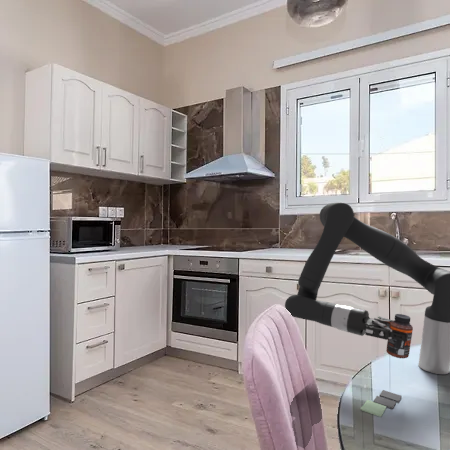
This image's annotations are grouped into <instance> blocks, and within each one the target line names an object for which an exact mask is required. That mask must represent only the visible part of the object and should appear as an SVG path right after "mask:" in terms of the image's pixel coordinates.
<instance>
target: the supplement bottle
mask: <svg viewBox="0 0 450 450" xmlns="http://www.w3.org/2000/svg"><path fill="white" fill-rule="evenodd" d="M390 329H393V330H397V331H400V332H404V333H407V334H408V340H407V341H406V342H405V341H401V340H397V339H394V338H392V339H389V338H388V340H387V342H386V353H387V354H388V356H389V355H390V356H391V357H394V358H397V359H407V358H409V356H410V350H411V343H412V337H413V331H414V330H413V325H412V324H411V317H410V316H409V315H406V314H402V313H401V314H400V313H396V314H394V320H393V321H392V322H391V323H390Z"/></svg>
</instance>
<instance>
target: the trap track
mask: <svg viewBox="0 0 450 450" xmlns="http://www.w3.org/2000/svg"><path fill="white" fill-rule="evenodd" d="M401 399H402V395H400V394H396V393H394V392H392V391H391V392H390V391H387V390H384V389H382V391H381V393H379V395H376V396H375V398H374V399H373V401H372V400H370V399H369V400H368V399H366V400H365V402H364V403H363V405H362V406H361V407H360V411H362V412H365V413H367V414H371V415H374V416H377V417H379V418H382V416H383V415H384V413H385V411H386V410H387V408H388V409H391V410H393V409H394V408H395V406H396V404H397V403H400V401H401Z"/></svg>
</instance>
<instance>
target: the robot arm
mask: <svg viewBox="0 0 450 450" xmlns="http://www.w3.org/2000/svg"><path fill="white" fill-rule="evenodd" d="M319 220H320V223H321V224H322V226H323V230H322V232H321V235H320V239H319V240H318V242H317V244H316V246H315V247H314V249H313V250H312V252H311V253H310V254H309V256H308V258H307V260H306V262H305V263H304V266H303V268H302V270H301V273H300V275H299V278H298V281H297V284H298V286H299V288H298V291H297V294H292V295H289V296H288V298H286V300H285V303H284V308H286V309H287V310H288V311H289V312H290V313H291V315H292V316H291V315H290V316H291V317H293V318H297V319H302V320H306V321H311V322H316V323H318V324H320V325H325V326H327V327H332V328H335V329H337V330H339V331H343V332H346V333H350V334H353V335H358V336H361V337H363V336H367V337H368V336H369V337H373V338H377V339H381V340H385V341H388V338H389V339H392V338H394V339H397V340H401V341H405V342H406V341H407V340H408V334H407V333H404V332H400V331H397V330H393V329H390V323H391V322H392V321H394V320H393V319H390V318H386V317H382V316H377V317H374V318H372V317H371V318H370V313H369V311H368V310H366V309H362V308H358V307H353V306H349V305H344V304H337V303H333V302H328V301H322V300H317V297H318V293H319V289H320V287H321V284H322V282H323V279H324V277H325V275H326V272H327V270H328V268H329V266H330V264H331V261H332V259H333V257H334V254H335V253H336V251H337V250H338V247H339V245H340V243H341V242H342V240H343V238H345V239H347V240H349V241H351V242H352V243H354V244H355V245H356V246H357V247H359V248H360V249H362V250H363V251H364V252H366V253H367V254H369V255H370V256H372V257H373V258H375V259H376V260H378V261H379V262H381V263H382V264H384V265H385V266H387V267H389V268H391V269H393V270H395V271H397V272H398V273H401V274H403V275H405V276H408V277H409V278H410V279H412V280H413V281H416V283H418V284H419V285H420V286H421V287H423V288H424V289H425V290H427V292H429V293H430V294H432V295H433V297H432V301H431V305H428V306H426V308H425V310H424V318H423V327H422V335H421V343H420V349H419V358H418V363H417V364H418V367H419V368H420V369H422V370H423V371H426V372H428V373H432V374H436V375H448V374H449V373H450V271H449V270H447V269H444V268H441V267H439V266H437V265H435V264H433V263H430V262H428V261H427V260H425V259H423V258H422V257H420V256H419V254H417V253H416V252H415V251H414V249H413V248H411V247H410V246H409V245H407V244H406V243H405V242H403V241H402V240H400V239H399V238H397V237H396V236H394V235H392V234H391V233H389V232H387V231H385V230H382V229H379V228H377V227H375V226H373V225H369V224H367V223H365V222H363V221H361V220H359V219H358V218H357V217H356V216H355V213H354V210H353V208H352V206H350V204H348V203H346V202H343V201H336V202H331V203H328V204H326V205H324V206H323V207H322V208H321V210H320V212H319ZM286 309H285V310H286Z"/></svg>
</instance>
